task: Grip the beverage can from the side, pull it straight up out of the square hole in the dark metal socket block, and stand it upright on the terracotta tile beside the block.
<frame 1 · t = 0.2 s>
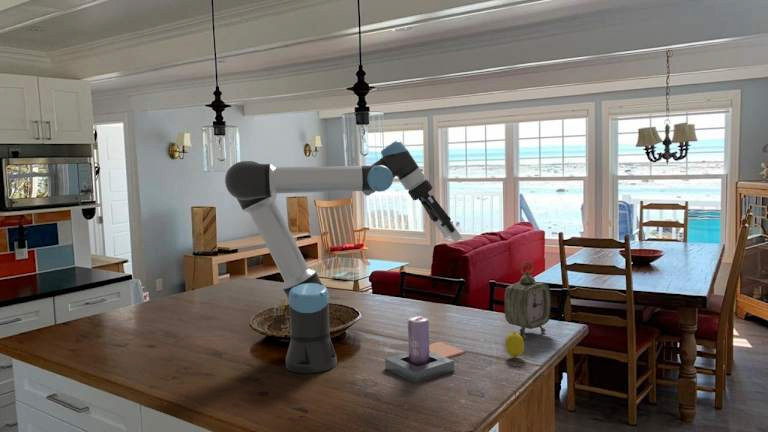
hand: (453, 237, 181), 35 cm above the kitchen island, tool tilted 35°, fingers open, 13 cm apart
beverage can: (419, 370, 159), resting in socket block
tabletop clock: (526, 335, 189), on the kitchen island
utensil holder: (280, 335, 196), on the kitchen island
socket block: (419, 369, 159), on the kitchen island
lemon: (514, 358, 167), on the kitchen island
terracotta tile: (437, 352, 174), on the kitchen island
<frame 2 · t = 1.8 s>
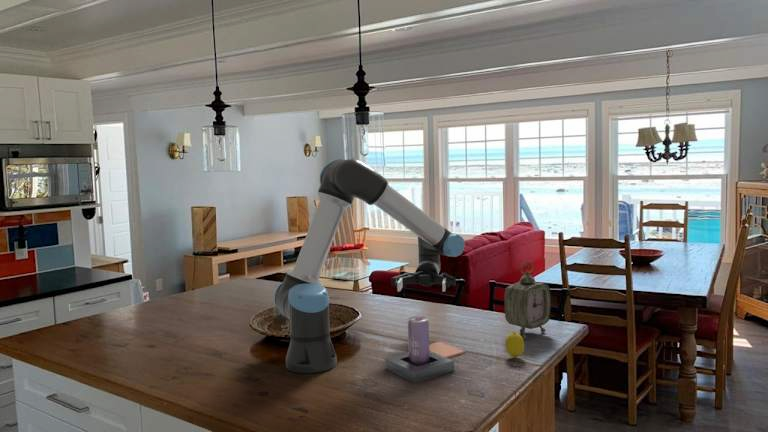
hand: (420, 287, 167), 22 cm above the kitchen island, tool horizontal, fingers open, 13 cm apart
nothing on the kitchen island moved.
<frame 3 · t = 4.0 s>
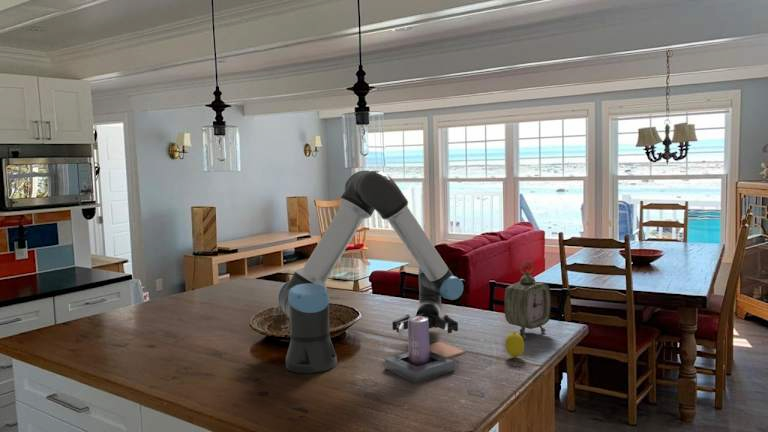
hand: (422, 333, 164), 9 cm above the kitchen island, tool horizontal, fingers open, 13 cm apart
nothing on the kitchen island moved.
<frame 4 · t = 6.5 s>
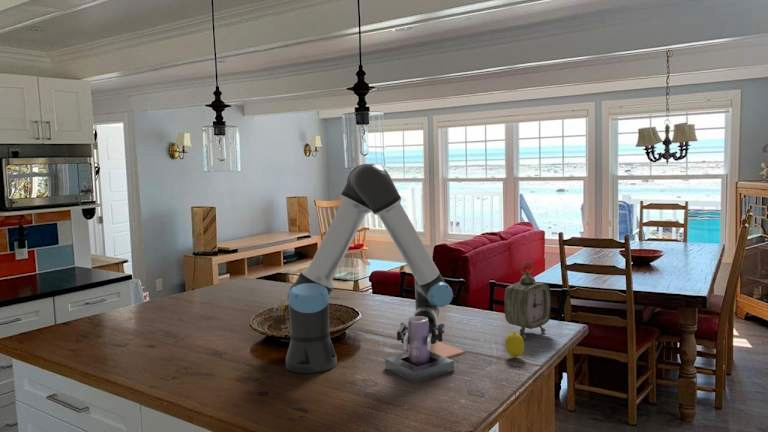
hand: (416, 344, 153), 9 cm above the kitchen island, tool horizontal, fingers closed on beverage can, 6 cm apart
beverage can: (419, 370, 159), resting in socket block, touching gripper
everything else where it was.
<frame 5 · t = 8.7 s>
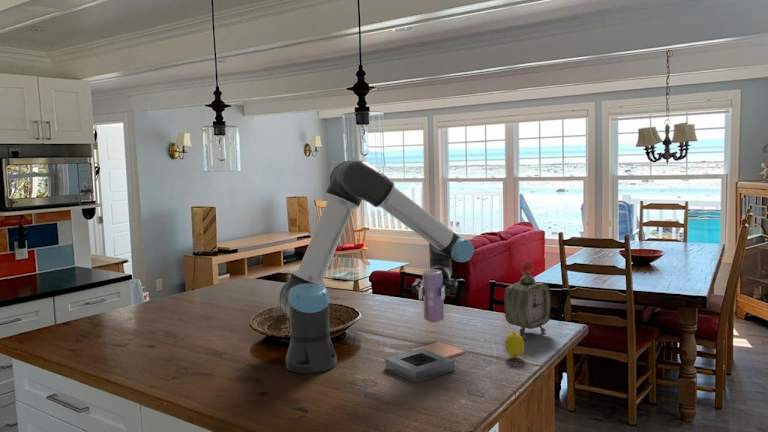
hand: (431, 294, 162), 21 cm above the kitchen island, tool horizontal, fingers closed on beverage can, 6 cm apart
beverage can: (433, 320, 168), point 12 cm above the kitchen island, touching gripper
everything else where it was.
when the fingers open (11 cm above the kitchen island, at t = 11.1 s): beverage can drops 1 cm, resting on terracotta tile.
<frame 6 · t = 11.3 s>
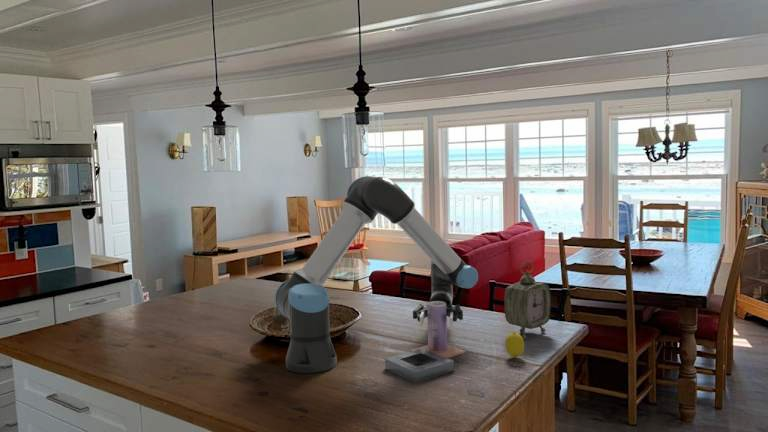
hand: (436, 321, 168), 11 cm above the kitchen island, tool horizontal, fingers open, 8 cm apart
beverage can: (437, 350, 174), resting on terracotta tile
everything else where it was.
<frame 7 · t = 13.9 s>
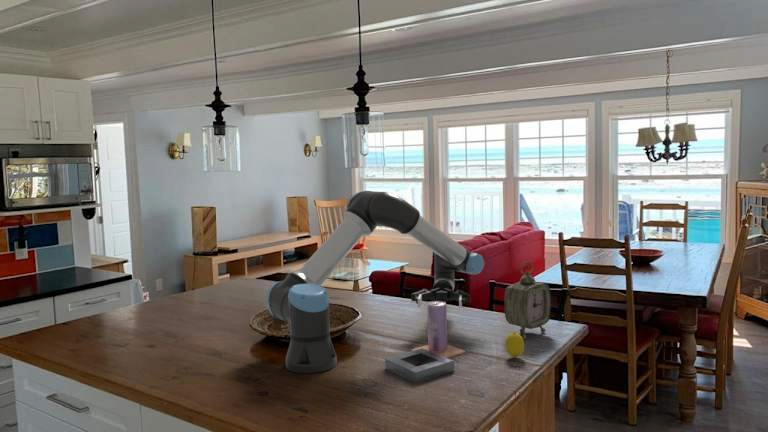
hand: (439, 303, 182), 13 cm above the kitchen island, tool horizontal, fingers open, 13 cm apart
nothing on the kitchen island moved.
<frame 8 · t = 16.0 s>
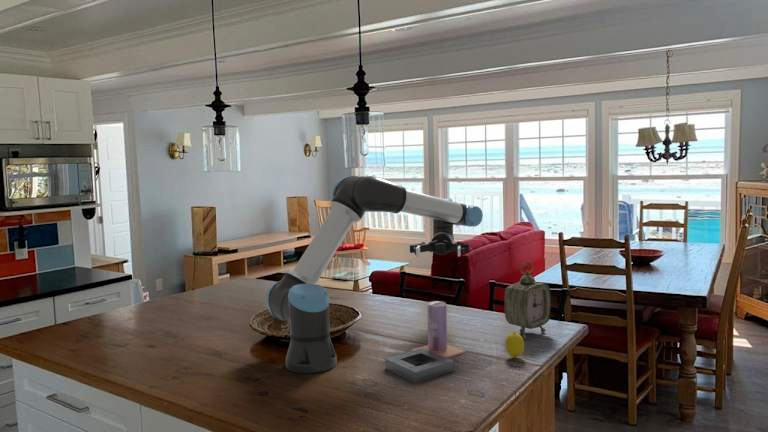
hand: (437, 252, 181), 30 cm above the kitchen island, tool horizontal, fingers open, 13 cm apart
nothing on the kitchen island moved.
at the end: beverage can inside the target area on the terracotta tile (0.0 cm from its centre), point 0.4 cm above the terracotta tile's base; beverage can tilted 0°; the gripper is holding nothing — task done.
